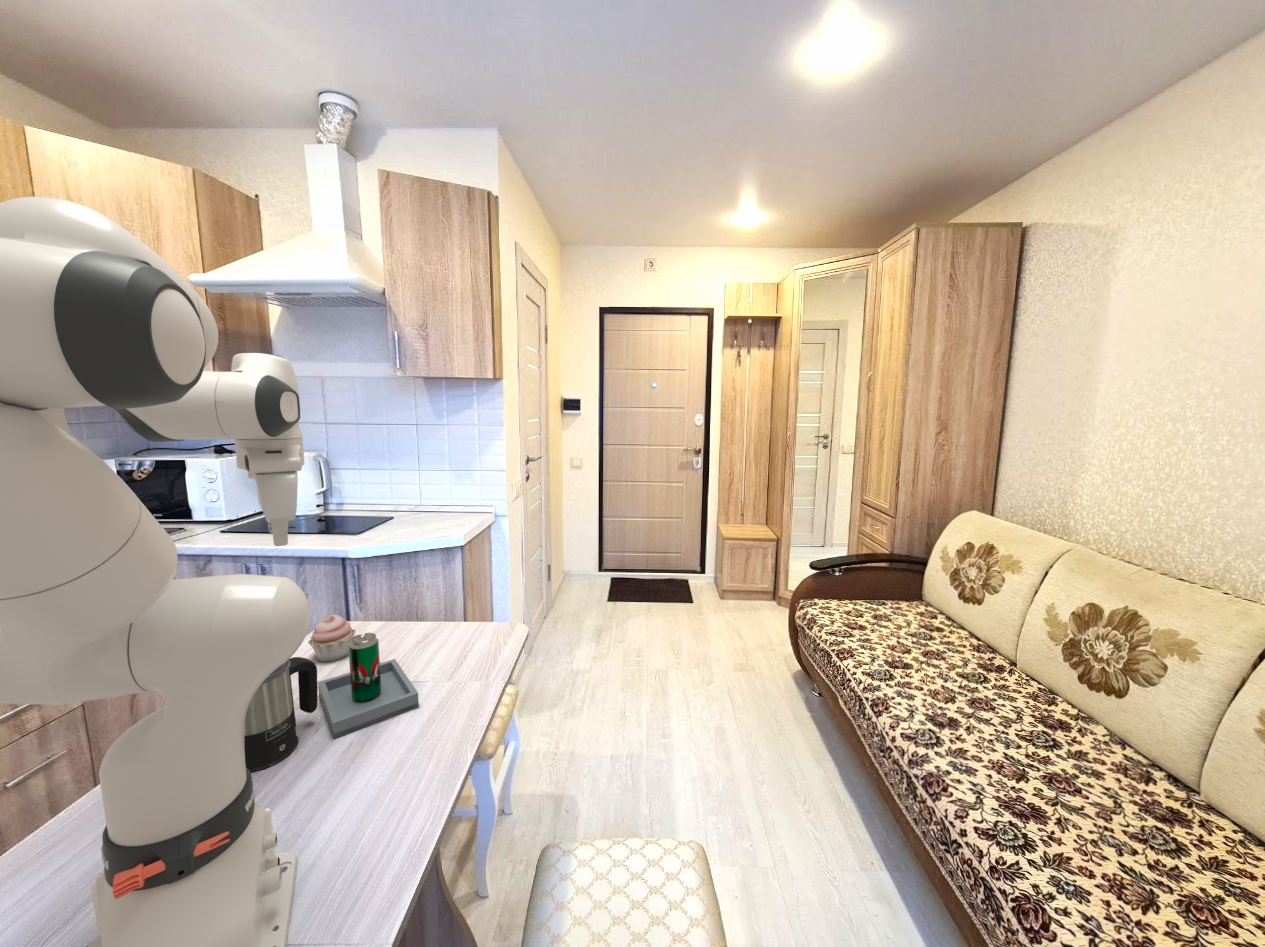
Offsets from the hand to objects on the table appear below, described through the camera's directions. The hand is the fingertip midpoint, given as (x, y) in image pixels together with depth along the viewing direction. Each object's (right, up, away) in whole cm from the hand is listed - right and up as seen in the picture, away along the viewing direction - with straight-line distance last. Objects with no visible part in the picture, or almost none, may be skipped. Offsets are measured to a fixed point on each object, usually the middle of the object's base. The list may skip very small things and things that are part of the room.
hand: (278, 538), depth 80 cm
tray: (+8, -34, +13) cm, 37 cm away
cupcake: (-9, -31, +30) cm, 44 cm away
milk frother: (-5, -35, +2) cm, 36 cm away
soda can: (+7, -33, +13) cm, 36 cm away
